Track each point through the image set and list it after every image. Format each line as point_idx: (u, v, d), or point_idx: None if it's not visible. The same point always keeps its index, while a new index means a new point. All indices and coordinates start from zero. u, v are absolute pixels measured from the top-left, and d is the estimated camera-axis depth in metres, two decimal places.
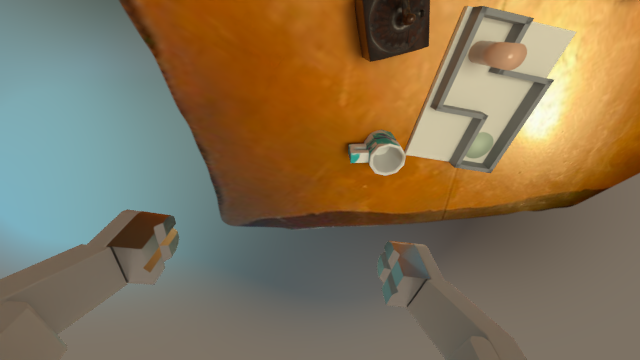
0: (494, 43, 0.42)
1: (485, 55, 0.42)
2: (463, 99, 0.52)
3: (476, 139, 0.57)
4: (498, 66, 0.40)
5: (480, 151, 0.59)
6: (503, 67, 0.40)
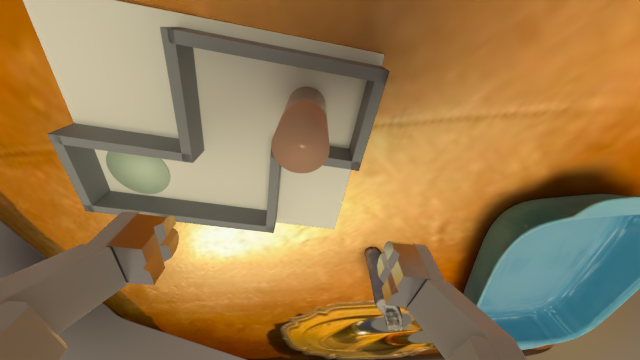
0: (324, 113, 0.19)
1: (300, 102, 0.18)
2: (217, 107, 0.24)
3: (149, 162, 0.28)
4: (278, 125, 0.16)
5: (129, 178, 0.29)
6: (276, 134, 0.15)
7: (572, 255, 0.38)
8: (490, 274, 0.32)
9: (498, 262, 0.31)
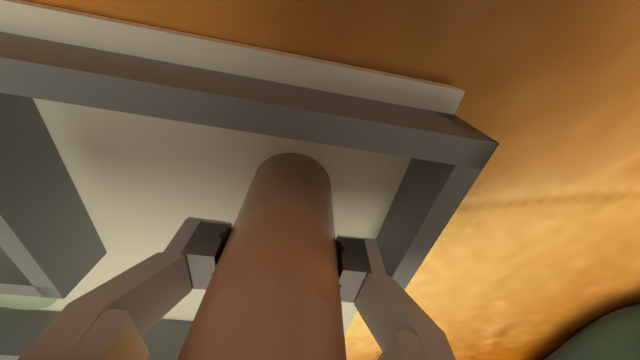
0: (332, 260, 0.07)
1: (262, 247, 0.06)
2: (112, 189, 0.12)
3: None
4: None
5: None
6: None
7: None
8: None
9: None
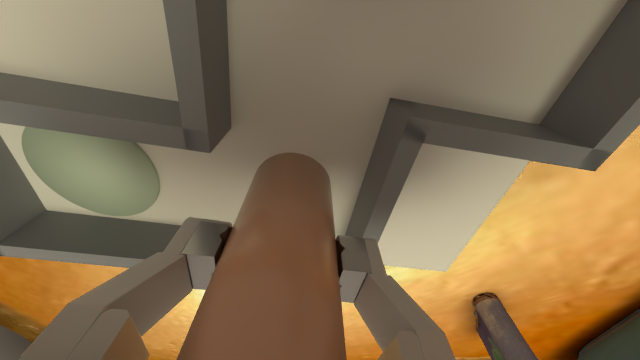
0: (332, 260, 0.07)
1: (262, 247, 0.06)
2: (270, 18, 0.10)
3: (114, 154, 0.13)
4: None
5: (78, 187, 0.14)
6: None
7: None
8: None
9: None
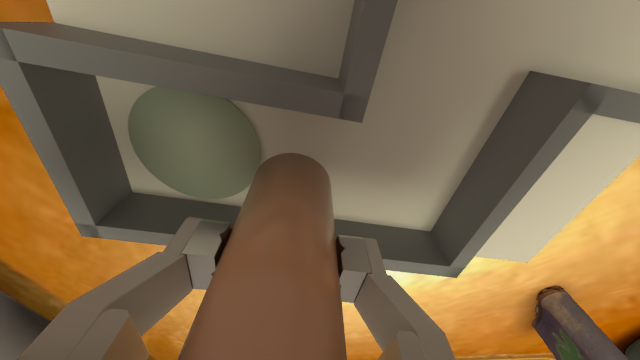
0: (332, 260, 0.07)
1: (263, 248, 0.06)
2: None
3: (223, 130, 0.12)
4: None
5: (175, 166, 0.14)
6: None
7: None
8: None
9: None
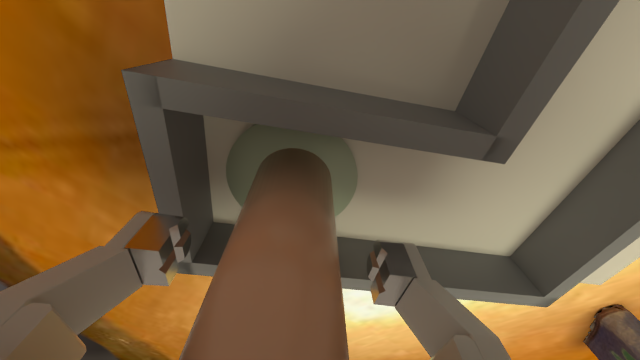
0: (333, 247, 0.08)
1: (267, 234, 0.07)
2: None
3: (325, 163, 0.12)
4: None
5: None
6: None
7: None
8: None
9: None
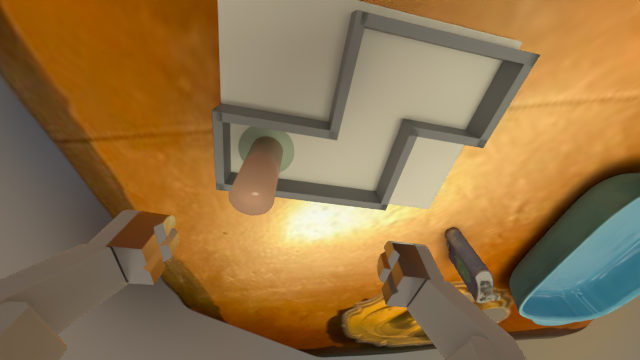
0: (275, 164, 0.25)
1: (255, 157, 0.24)
2: (360, 89, 0.26)
3: (279, 142, 0.29)
4: (234, 181, 0.21)
5: None
6: (232, 189, 0.21)
7: (621, 238, 0.43)
8: (590, 234, 0.34)
9: (606, 221, 0.33)
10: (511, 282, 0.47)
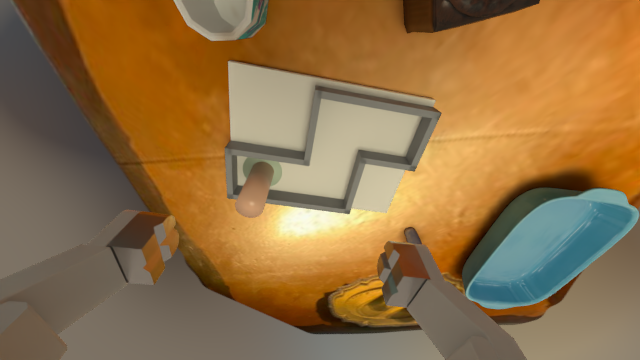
0: (266, 183, 0.37)
1: (252, 179, 0.36)
2: (325, 131, 0.38)
3: (271, 165, 0.41)
4: (239, 196, 0.34)
5: None
6: (237, 201, 0.33)
7: (550, 239, 0.53)
8: (508, 234, 0.45)
9: (518, 224, 0.43)
10: (462, 272, 0.58)
